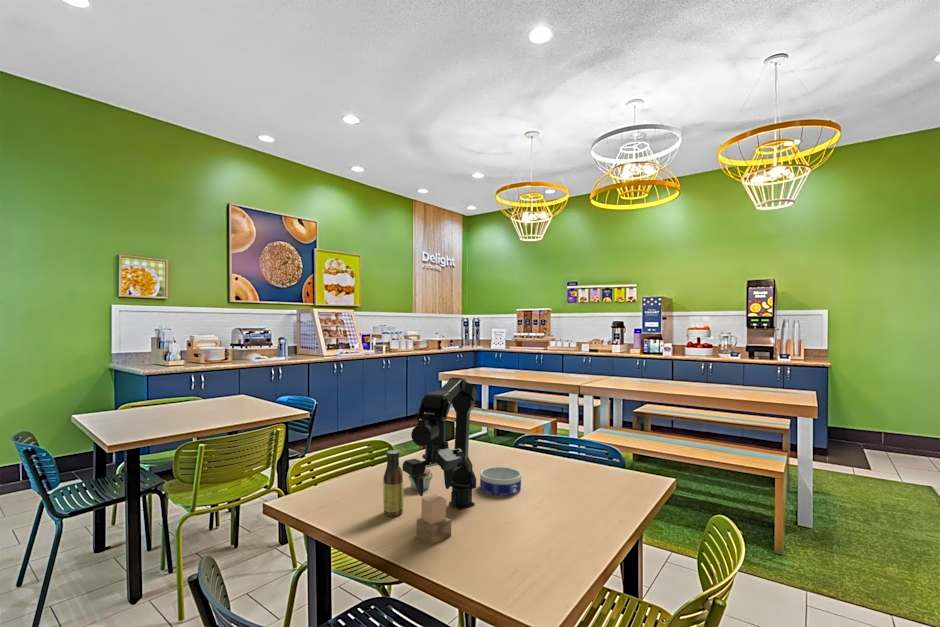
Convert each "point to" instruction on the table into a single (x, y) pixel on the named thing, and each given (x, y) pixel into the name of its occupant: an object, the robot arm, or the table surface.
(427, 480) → the cupcake
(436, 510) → the light wooden cube
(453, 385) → the robot arm
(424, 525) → the walnut block
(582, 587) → the table surface
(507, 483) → the dog bowl
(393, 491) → the sauce bottle
